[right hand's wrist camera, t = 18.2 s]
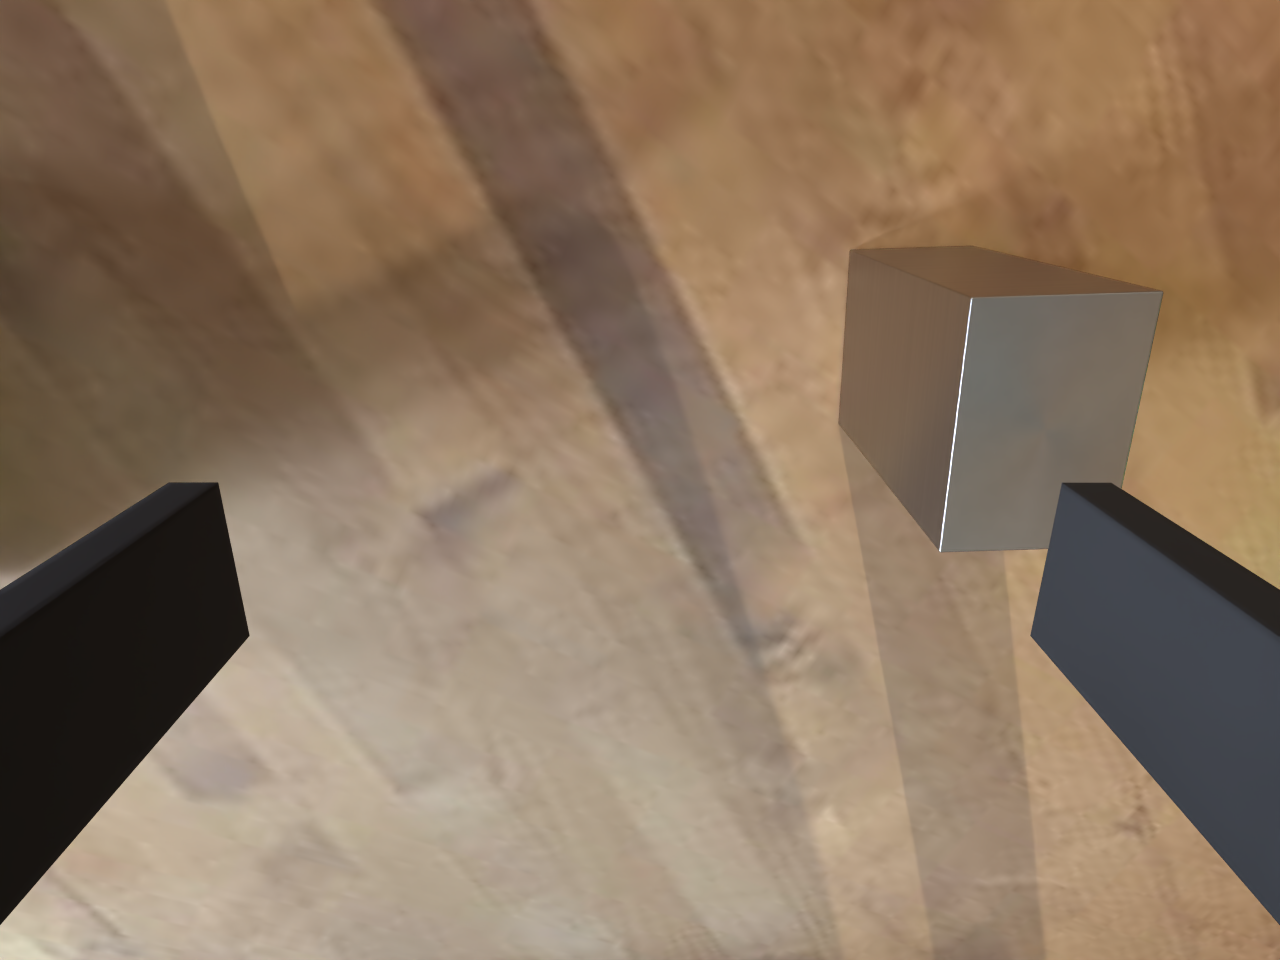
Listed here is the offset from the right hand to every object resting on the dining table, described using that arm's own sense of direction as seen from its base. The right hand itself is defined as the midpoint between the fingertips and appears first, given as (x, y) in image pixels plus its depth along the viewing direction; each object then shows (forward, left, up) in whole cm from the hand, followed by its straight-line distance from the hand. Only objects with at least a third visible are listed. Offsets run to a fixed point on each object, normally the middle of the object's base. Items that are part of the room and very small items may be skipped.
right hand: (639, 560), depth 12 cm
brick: (+11, -3, -21) cm, 23 cm away
